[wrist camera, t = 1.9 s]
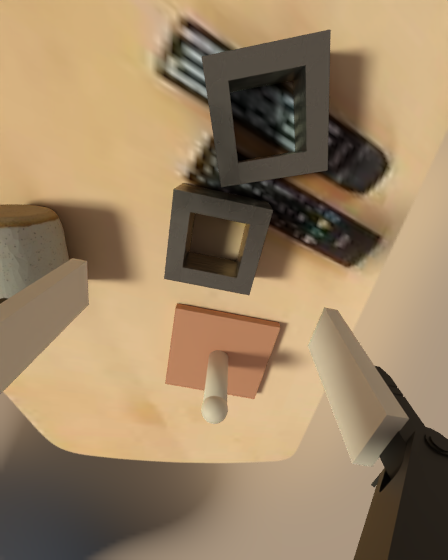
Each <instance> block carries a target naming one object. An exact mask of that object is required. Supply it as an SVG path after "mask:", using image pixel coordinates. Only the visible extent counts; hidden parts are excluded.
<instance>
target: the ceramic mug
mask: <svg viewBox="0 0 448 560" xmlns="http://www.w3.org/2000/svg"><path fill="white" fill-rule="evenodd" d="M67 261H69V256H68V251H67V247H66V242H65V236H64V230H63V227H62V224H61V222H60V219H59V217H58V215H57V214H56V213H55V212H54V211H53V210H51V209H49V208H47V207H42V206H34V205H0V299H1V298H8V299H9V298H10V297H12V296H13V295H15V294H16V293H18V292H20V291H21V290H23V289H24V288H26V287H28V286H29V285H31V284H32V283H34V282H36V281H37V280H39V279H40V278H42V277H43V276H45V275H47V274H48V273H50V272H51V271H53V270H55V269H56V268H58V267H59V266H61V265H63V264H64V263H66V262H67Z"/></svg>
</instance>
